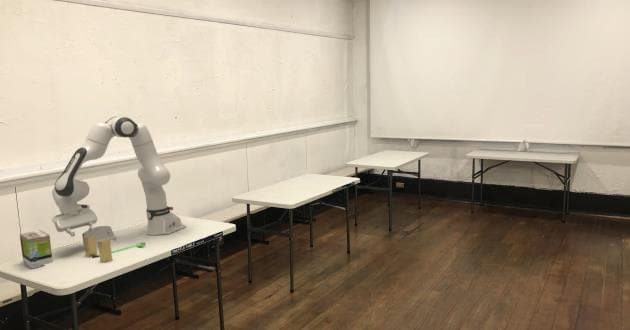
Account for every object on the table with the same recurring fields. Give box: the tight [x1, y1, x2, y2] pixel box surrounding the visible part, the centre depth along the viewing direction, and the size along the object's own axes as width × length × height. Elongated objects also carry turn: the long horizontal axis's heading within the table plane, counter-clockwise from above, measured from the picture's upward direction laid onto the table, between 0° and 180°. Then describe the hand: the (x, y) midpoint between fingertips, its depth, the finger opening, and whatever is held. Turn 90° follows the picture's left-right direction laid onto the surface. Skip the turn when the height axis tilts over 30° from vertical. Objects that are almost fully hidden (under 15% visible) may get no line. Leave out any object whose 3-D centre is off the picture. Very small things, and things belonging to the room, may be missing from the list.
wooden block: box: [82, 235, 98, 258], centre depth 254 cm, size 4×4×10 cm
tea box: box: [19, 229, 54, 269], centre depth 249 cm, size 15×10×15 cm
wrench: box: [98, 242, 147, 256], centre depth 262 cm, size 25×2×5 cm
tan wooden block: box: [97, 239, 113, 263], centre depth 245 cm, size 4×4×10 cm
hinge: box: [81, 225, 117, 246], centre depth 278 cm, size 17×5×10 cm, turn 139°
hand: (82, 233), depth 257 cm, fingers open, 8 cm apart
